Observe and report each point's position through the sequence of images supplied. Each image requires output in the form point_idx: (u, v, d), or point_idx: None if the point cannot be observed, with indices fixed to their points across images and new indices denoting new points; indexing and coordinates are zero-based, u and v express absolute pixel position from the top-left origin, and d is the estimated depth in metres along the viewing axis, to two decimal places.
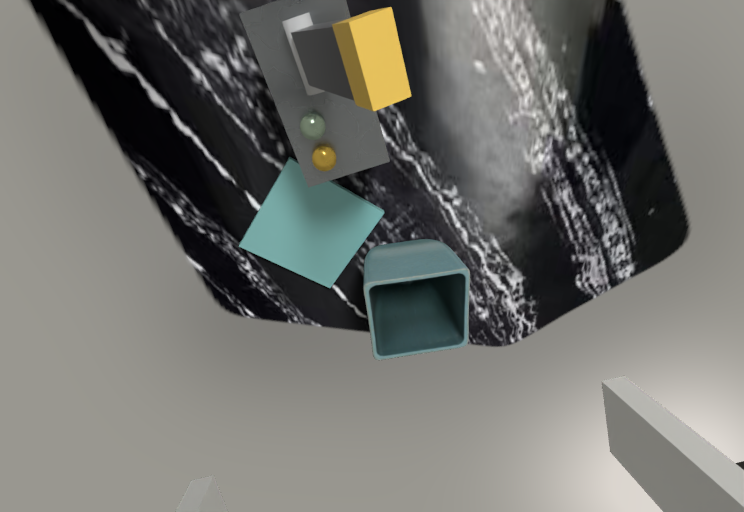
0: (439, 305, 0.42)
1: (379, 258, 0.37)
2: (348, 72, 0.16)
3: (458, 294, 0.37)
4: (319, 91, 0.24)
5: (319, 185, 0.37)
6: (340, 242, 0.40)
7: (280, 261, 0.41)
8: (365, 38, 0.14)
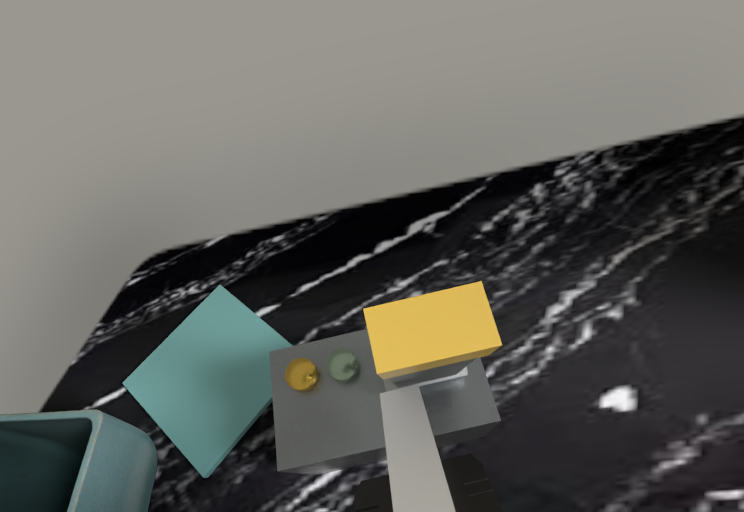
0: None
1: (135, 452, 0.24)
2: None
3: None
4: None
5: (265, 388, 0.29)
6: (182, 406, 0.30)
7: (184, 325, 0.33)
8: (461, 303, 0.10)
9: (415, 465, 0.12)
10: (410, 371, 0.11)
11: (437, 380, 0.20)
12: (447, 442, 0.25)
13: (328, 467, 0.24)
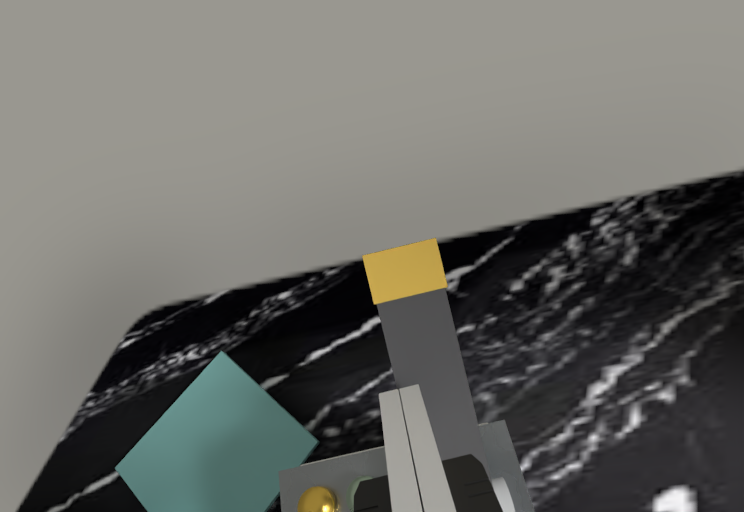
0: None
1: None
2: None
3: None
4: None
5: (273, 478, 0.26)
6: (181, 498, 0.27)
7: (183, 400, 0.30)
8: None
9: (414, 465, 0.12)
10: (389, 285, 0.16)
11: None
12: None
13: None
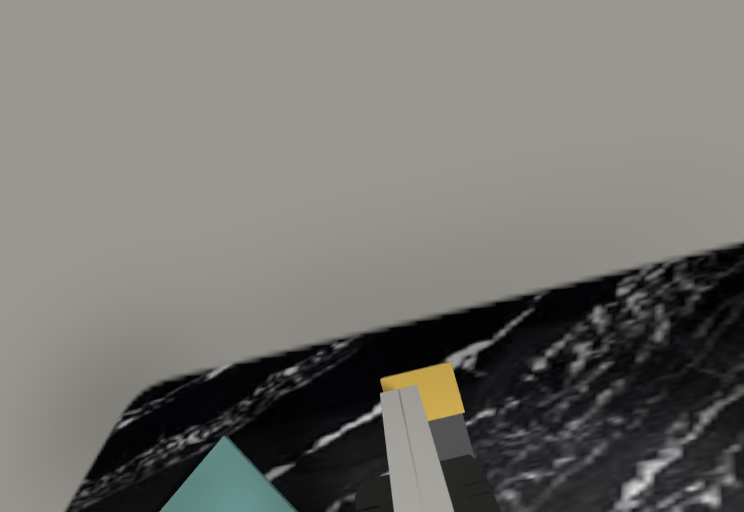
0: None
1: None
2: None
3: None
4: None
5: None
6: None
7: (182, 492, 0.28)
8: (434, 365, 0.18)
9: (416, 465, 0.12)
10: None
11: None
12: None
13: None
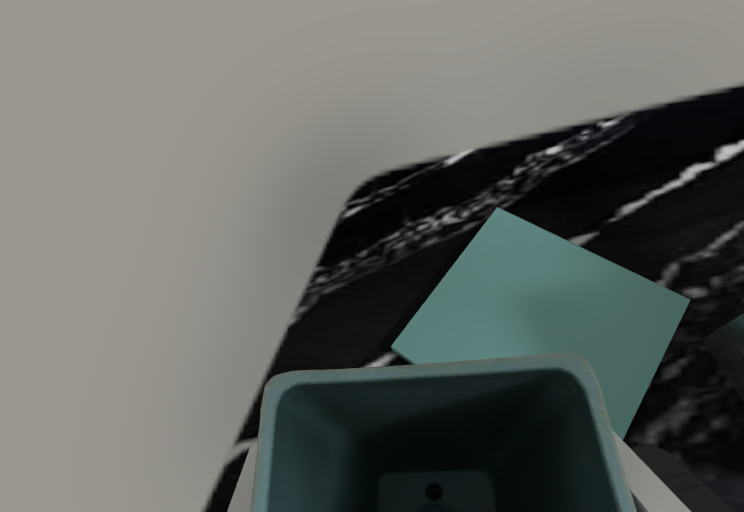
0: None
1: None
2: None
3: None
4: None
5: (643, 347, 0.18)
6: None
7: (464, 263, 0.22)
8: None
9: None
10: None
11: None
12: None
13: None
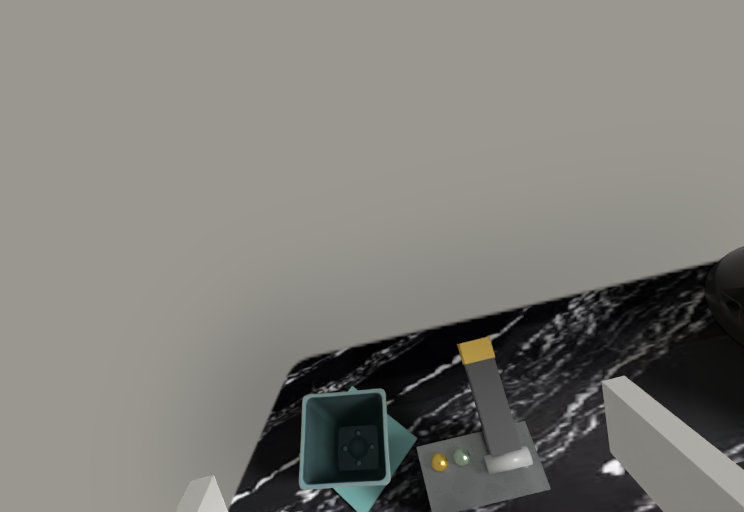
0: (321, 477, 0.44)
1: None
2: None
3: None
4: None
5: (394, 459, 0.47)
6: None
7: None
8: None
9: None
10: (471, 356, 0.40)
11: (514, 457, 0.38)
12: None
13: None
